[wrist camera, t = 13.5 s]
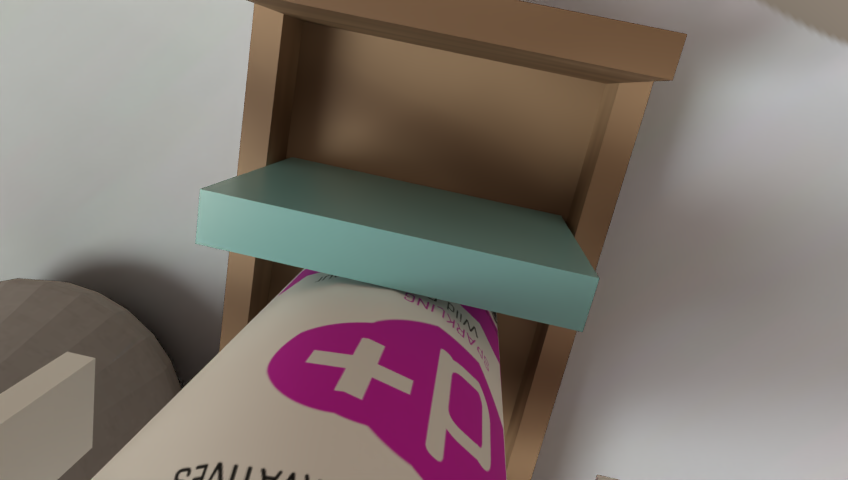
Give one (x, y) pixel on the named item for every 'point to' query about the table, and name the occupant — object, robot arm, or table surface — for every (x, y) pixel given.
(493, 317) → the supplement can
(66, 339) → the coffee pot
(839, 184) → the table surface
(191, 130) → the table surface
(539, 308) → the plate
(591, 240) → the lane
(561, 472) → the table surface
